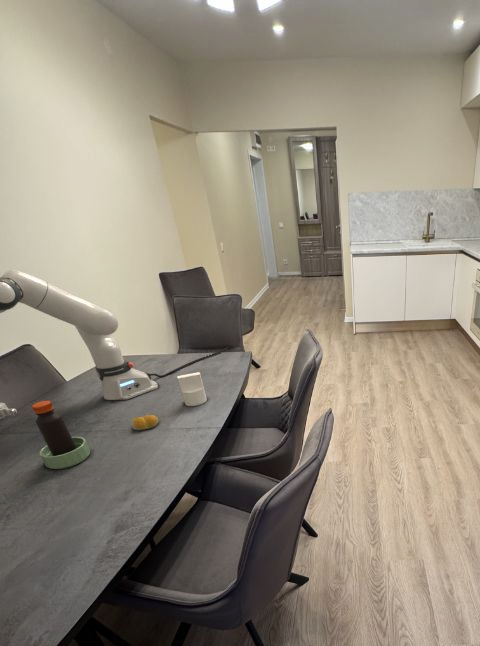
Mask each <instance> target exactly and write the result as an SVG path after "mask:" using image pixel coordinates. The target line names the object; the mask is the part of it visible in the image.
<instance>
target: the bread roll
mask: <svg viewBox="0 0 480 646" xmlns="http://www.w3.org/2000/svg"><path fill="white" fill-rule="evenodd" d="M131 423H132V424H131V425H132V428H133V430H135V431H145V430H148V429H153V428H154V427H156V426H157V425H158V424H159V419H158V417H157V416H156V415H154V414H147V415H144V416H137V417H135V418H133V419H132V422H131Z"/></svg>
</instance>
